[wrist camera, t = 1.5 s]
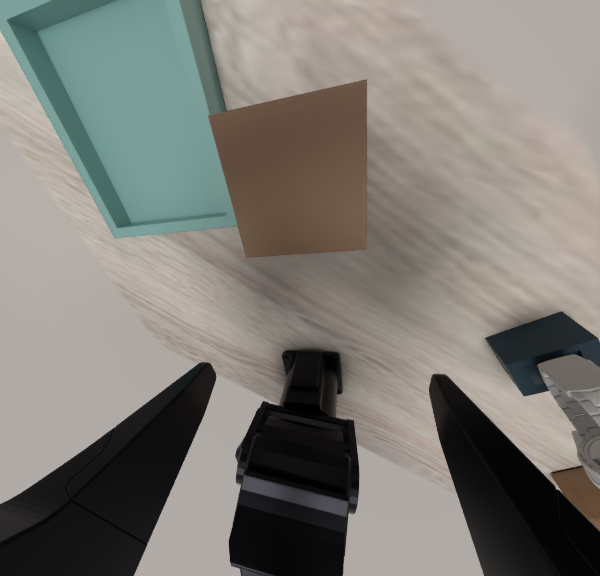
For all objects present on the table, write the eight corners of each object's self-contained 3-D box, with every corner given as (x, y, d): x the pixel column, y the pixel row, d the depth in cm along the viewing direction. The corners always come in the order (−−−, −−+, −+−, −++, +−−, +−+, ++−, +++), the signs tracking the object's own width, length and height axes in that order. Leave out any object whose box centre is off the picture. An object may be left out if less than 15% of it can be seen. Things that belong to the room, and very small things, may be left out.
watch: (510, 379, 23) (625, 538, 13) (477, 325, 20) (589, 472, 11) (584, 359, 20) (789, 539, 11) (556, 295, 18) (789, 453, 8)
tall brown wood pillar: (356, 198, 17) (366, 249, 8) (296, 205, 18) (246, 257, 9) (354, 124, 15) (367, 79, 6) (287, 137, 16) (207, 115, 7)
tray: (251, 217, 19) (239, 225, 17) (137, 230, 21) (114, 238, 19) (191, -38, 12) (158, -77, 10) (37, 24, 15) (-15, 3, 13)
